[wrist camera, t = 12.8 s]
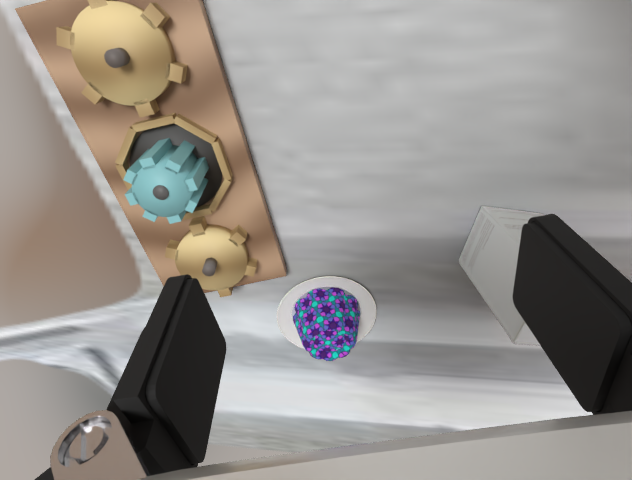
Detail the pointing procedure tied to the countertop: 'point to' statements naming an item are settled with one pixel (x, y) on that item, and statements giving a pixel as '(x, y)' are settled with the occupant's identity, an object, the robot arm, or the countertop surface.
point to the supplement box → (498, 265)
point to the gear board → (162, 126)
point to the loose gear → (167, 181)
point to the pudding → (326, 316)
